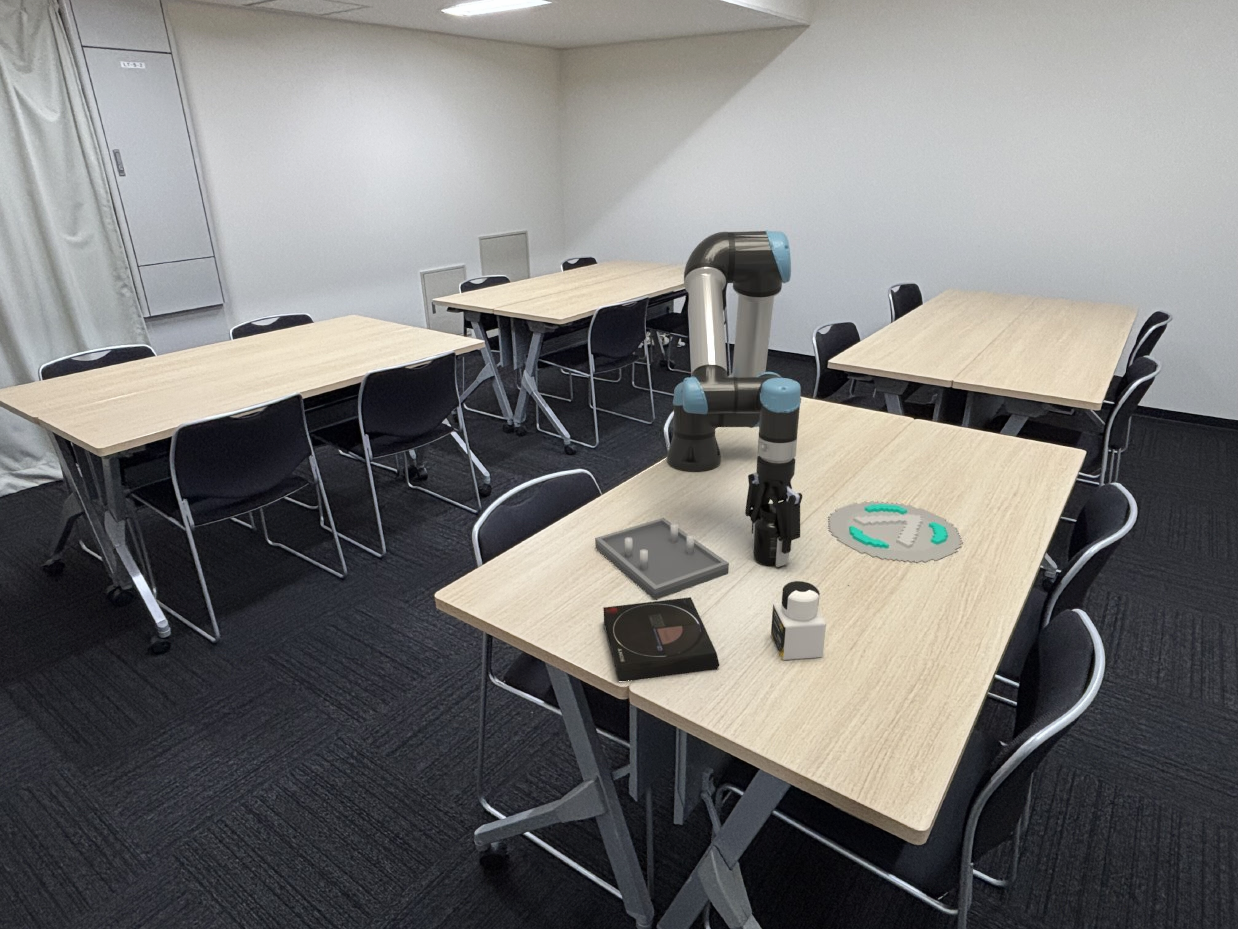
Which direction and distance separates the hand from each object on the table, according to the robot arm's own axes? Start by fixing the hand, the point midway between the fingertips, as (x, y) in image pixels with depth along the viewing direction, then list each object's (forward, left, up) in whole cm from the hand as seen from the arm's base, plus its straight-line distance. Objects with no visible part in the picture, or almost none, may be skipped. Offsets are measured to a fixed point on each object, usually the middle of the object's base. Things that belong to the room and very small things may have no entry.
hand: (769, 556), depth 151 cm
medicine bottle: (+25, -16, -1) cm, 30 cm away
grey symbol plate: (+5, +32, -1) cm, 32 cm away
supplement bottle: (0, 0, -1) cm, 1 cm away
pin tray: (-12, -20, -1) cm, 23 cm away
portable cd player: (+12, -36, -1) cm, 38 cm away
